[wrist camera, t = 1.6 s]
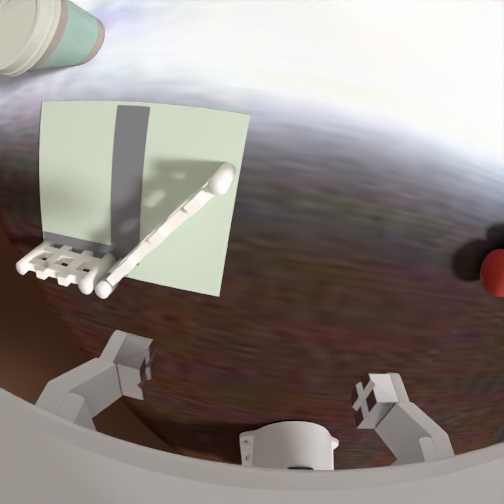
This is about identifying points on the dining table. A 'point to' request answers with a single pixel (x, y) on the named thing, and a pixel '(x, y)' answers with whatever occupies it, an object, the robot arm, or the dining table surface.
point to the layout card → (139, 184)
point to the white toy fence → (167, 227)
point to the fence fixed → (70, 272)
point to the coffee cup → (46, 35)
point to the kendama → (493, 272)
